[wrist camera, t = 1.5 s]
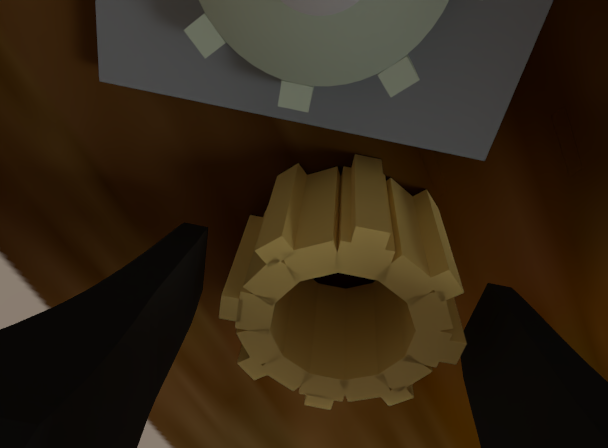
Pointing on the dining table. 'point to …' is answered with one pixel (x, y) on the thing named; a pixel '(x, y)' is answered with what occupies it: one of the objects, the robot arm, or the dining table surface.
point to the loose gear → (339, 301)
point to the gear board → (333, 61)
